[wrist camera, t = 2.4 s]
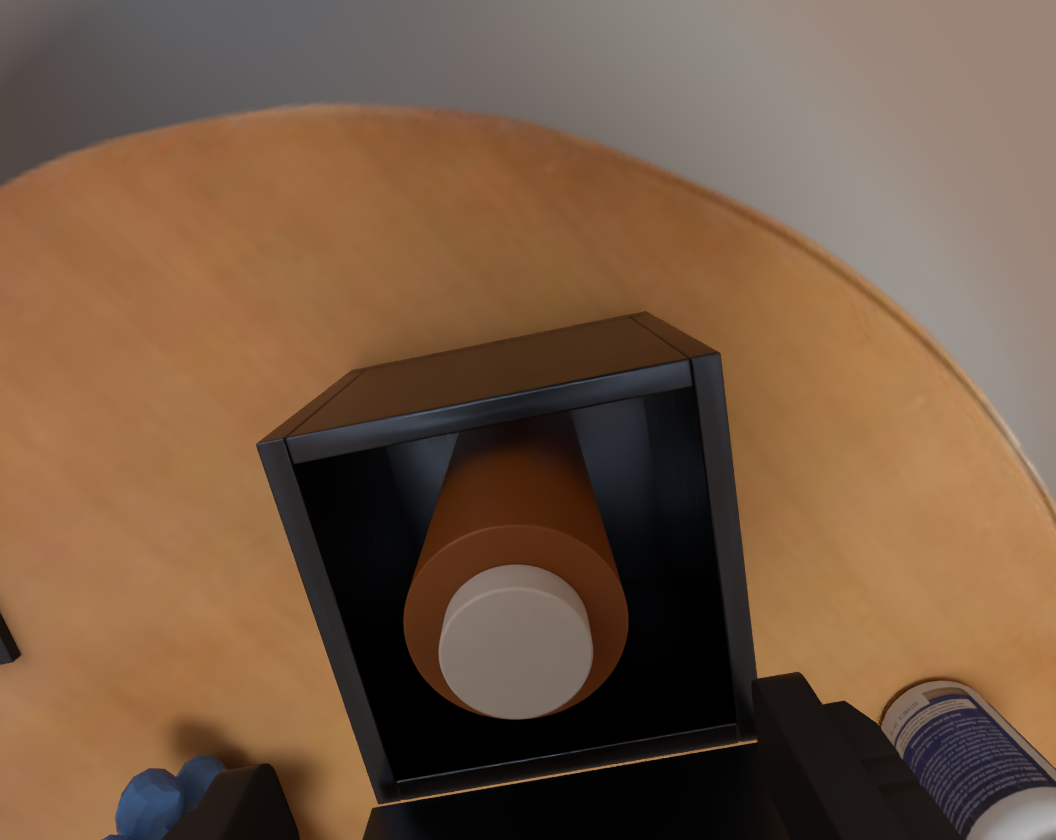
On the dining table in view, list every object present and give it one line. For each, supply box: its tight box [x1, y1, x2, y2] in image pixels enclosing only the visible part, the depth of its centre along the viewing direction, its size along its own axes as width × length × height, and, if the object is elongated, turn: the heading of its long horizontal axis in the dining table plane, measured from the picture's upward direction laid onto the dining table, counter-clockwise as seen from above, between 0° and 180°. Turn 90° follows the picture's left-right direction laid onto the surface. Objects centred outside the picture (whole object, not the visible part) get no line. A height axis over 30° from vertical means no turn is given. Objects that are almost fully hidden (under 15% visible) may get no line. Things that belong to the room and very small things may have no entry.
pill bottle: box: [881, 681, 1056, 840], centre depth 27 cm, size 5×5×10 cm
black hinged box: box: [256, 311, 757, 804], centre depth 23 cm, size 13×13×10 cm
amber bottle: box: [403, 411, 629, 720], centre depth 19 cm, size 5×5×14 cm
